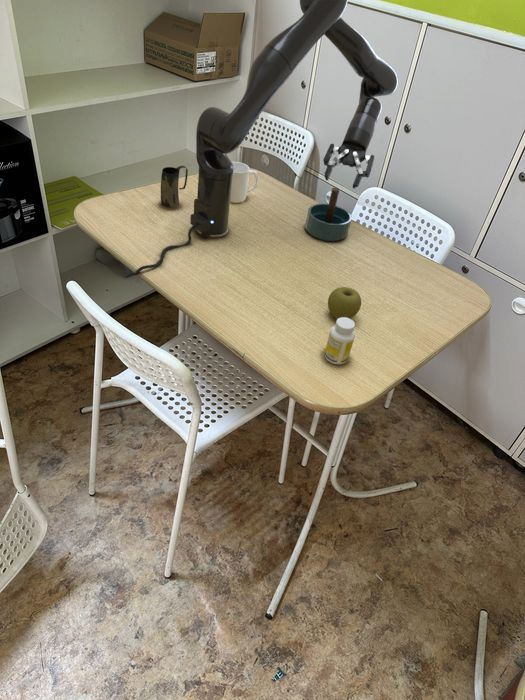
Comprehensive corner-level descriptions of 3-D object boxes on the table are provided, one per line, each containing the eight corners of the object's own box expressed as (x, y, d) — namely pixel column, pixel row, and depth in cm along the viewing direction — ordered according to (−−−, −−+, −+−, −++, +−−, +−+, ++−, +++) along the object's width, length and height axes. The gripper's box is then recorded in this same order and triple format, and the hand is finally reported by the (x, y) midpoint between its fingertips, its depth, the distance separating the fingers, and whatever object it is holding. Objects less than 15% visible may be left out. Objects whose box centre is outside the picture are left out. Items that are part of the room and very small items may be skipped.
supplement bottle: (345, 349, 119) (356, 316, 113) (349, 366, 115) (360, 332, 108) (322, 347, 118) (331, 314, 112) (325, 364, 114) (335, 329, 108)
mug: (163, 210, 157) (164, 172, 149) (158, 202, 160) (158, 164, 152) (188, 208, 160) (190, 170, 152) (182, 199, 163) (183, 162, 156)
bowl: (328, 247, 153) (332, 229, 149) (295, 228, 160) (299, 210, 156) (355, 235, 161) (360, 217, 157) (323, 217, 167) (327, 200, 163)
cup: (217, 192, 171) (219, 161, 164) (251, 190, 175) (254, 161, 168) (225, 203, 165) (228, 173, 159) (260, 201, 170) (264, 171, 163)
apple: (351, 329, 125) (358, 306, 120) (320, 317, 127) (326, 294, 122) (360, 313, 130) (367, 290, 126) (330, 302, 132) (336, 279, 127)
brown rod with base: (327, 234, 158) (337, 193, 149) (316, 227, 160) (325, 187, 151) (336, 230, 160) (346, 190, 152) (325, 224, 162) (334, 184, 154)
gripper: (336, 120, 152) (316, 170, 151) (383, 132, 149) (363, 184, 148) (337, 133, 160) (318, 182, 159) (382, 146, 157) (363, 195, 156)
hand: (340, 183), depth 154 cm, fingers open, 8 cm apart
